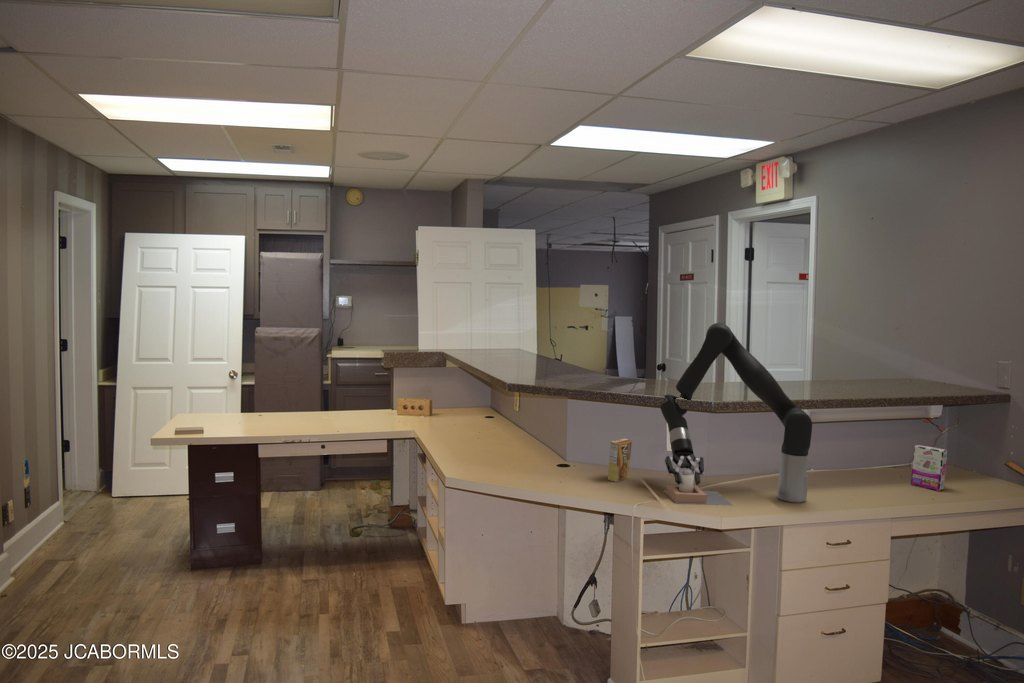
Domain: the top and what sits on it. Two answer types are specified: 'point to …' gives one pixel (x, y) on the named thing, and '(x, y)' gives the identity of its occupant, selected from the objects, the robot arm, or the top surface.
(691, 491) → the connector plug
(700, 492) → the holder
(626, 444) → the candy box
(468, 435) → the top surface
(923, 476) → the candy bar box
